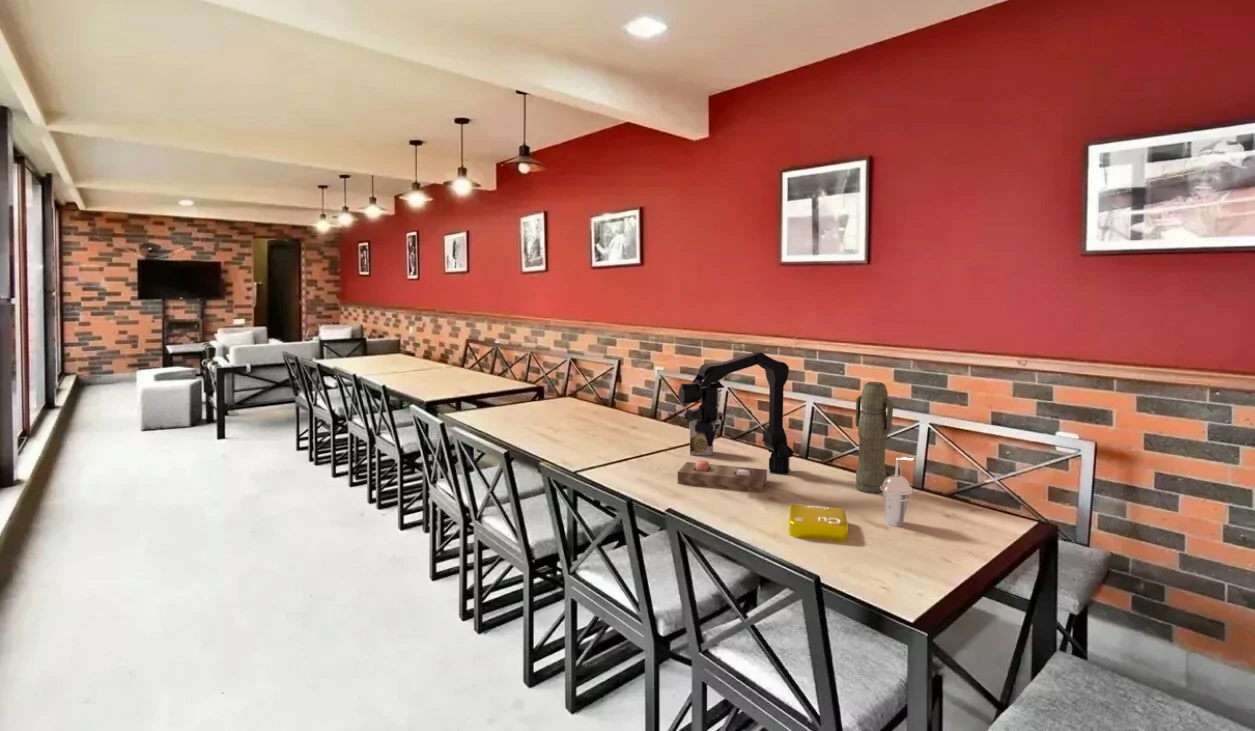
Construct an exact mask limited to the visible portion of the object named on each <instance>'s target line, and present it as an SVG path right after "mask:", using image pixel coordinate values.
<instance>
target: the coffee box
mask: <svg viewBox="0 0 1255 731" xmlns="http://www.w3.org/2000/svg"><path fill="white" fill-rule="evenodd" d="M699 421H700V420H699V419H696V420H693V421H691V422H689V456H714V443H713V444H712V446H708V444H707V440H706V437H705V434H704V432H697V431H695V425H696V424H697V423H698V422H699ZM702 421H704V420H702Z"/></svg>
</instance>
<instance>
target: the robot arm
mask: <svg viewBox="0 0 1255 731" xmlns="http://www.w3.org/2000/svg"><path fill="white" fill-rule="evenodd" d="M753 366H759V367H760V368H762V369H763V370H764V371H765V378H766V380H767V383H768V386H769V395H768V396H769V402H768V404H769V405H768V406H769V407H768V408H769V409H768V410H769V411H768V427H767V428H766V430H765V429H763V430H762V435H763V436H762V442H763V444H764V446H765V448H766V449H767V451H768V452H769V453H770V456H769V458H768V470H769V473H770V474H779V475H780V474H781V475H789V473H790V471H791V468H790V462H791V461H790V459H791V458H793V455H794V453H795V452H794V450H793V449H792V448H791V447H790V446H789V444H788V439H787V434H786V432H785V429H784V424H783V423H784V387H785V385H786V383H787V382H788V380H789V379H788V377H789V373H790V367H789V365H788V364H787V363H786V362H783V361H779V360H776V359H774V358H772V357H770V356H768V355H767V354H765V353H764V352H761V351H757V350H755V351H753V352H751V353H747V354H743V355H741V356H737V357H735V358H731V359H729V360H725V361H722V362H709V363H704V364H702V365H700V367H699V368H698V369H699V370H698V373H697V375H695V377H694V379H693V381H692V382H690V383H685V382H684V383H683V382H682V383H680V387H679V389H678V394H677V395H678V396H677V397H678V400H679V404H681V405H684V404H696V403H699V402H700V405H699V406H698V407H697V408H694V409H688V410H686V411H685V413H684V414H683V416H684V417H683V418H684V420H686V423H690V422H691V421H693V420H696V419H699V420H700V421H699V422H698V423H697V424H696V425H695V431H697V432H704V434H705V437H706V440H707V444H708V446H712V444H713V445H714V442H715V439H716V436H717V435H718V432H719V429H720V426H721V424H718V423H717V421H718V420H720V422H723V421H724V420H725V416H724V413H723V412H721V411H719V408H720V402H719V389H724V388H725V385H724V384H722V383H721V382H720V381H721V380H722V379H724V378H725V377H726V376H728V375H729V374H731V373H735V372H738V371H741V370H745V369H748V368H750V367H753ZM702 420H704V421H702Z"/></svg>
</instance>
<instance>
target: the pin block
mask: <svg viewBox="0 0 1255 731" xmlns="http://www.w3.org/2000/svg"><path fill="white" fill-rule="evenodd" d="M737 470H748V471H750V476H747V475H737V474H736V473H737ZM767 481H768V469H765V468H764V469H763V468H756V467H755V468H753V467H744V466H736V465H735V466H733V465H722V464H711V463H709V471H708V472H706V471H696V462H692V461H691V462H690V461H686V462H685V463H684V464H683V465H682V466H681V468H680V469H678V471H677V484H678V485H679V484H681V485H690V486H692V485H693V486H697V487H698V486H700V487H709V488H710V487H711V488H716V489H717V488H718V489H728V490H737V491H746V492H753V493H754V492H755V493H756V492H758V493H762V492H763V490H764V487H765V486H766V483H767Z"/></svg>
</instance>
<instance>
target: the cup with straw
mask: <svg viewBox="0 0 1255 731" xmlns="http://www.w3.org/2000/svg"><path fill="white" fill-rule="evenodd" d="M899 461H908V462H909V461H910V462H915V458H911V457H903V456H902V457H901V456H898V457H896V459H895V468H894V470H895V471H894V474H891V475H888V476H887V477H886V479H885V481H884V482H883V483H882V484H881V485H880V489H881V490H882V491H883V493H882V496H883V504H884V515H885V523H886V524H887V525H889V526H894V527H901V526H904V521H905V518H906V517H905V516H906V512H907V506H908V501H909V499H910V495H911V494H912V493H913V492H914V491H913V487H912V486H910V482H909V481H908V479H906V478H905V477H904V476H902V475H899Z"/></svg>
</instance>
